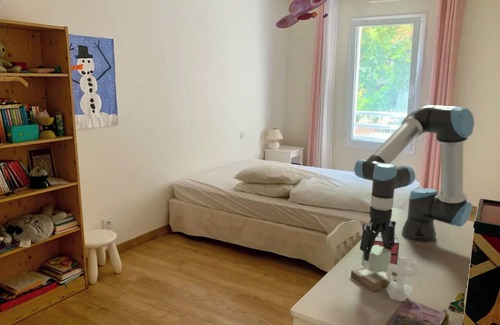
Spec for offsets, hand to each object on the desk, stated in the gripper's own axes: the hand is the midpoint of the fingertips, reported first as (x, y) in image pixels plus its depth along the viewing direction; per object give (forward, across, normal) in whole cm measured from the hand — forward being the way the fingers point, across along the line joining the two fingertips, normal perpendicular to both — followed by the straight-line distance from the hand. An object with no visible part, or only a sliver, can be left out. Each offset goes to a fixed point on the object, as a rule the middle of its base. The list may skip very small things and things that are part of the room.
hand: (375, 266), depth 149 cm
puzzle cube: (+6, -16, -12) cm, 21 cm away
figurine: (+6, 0, +12) cm, 14 cm away
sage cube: (0, 0, 0) cm, 0 cm away
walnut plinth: (+6, 0, 0) cm, 6 cm away
